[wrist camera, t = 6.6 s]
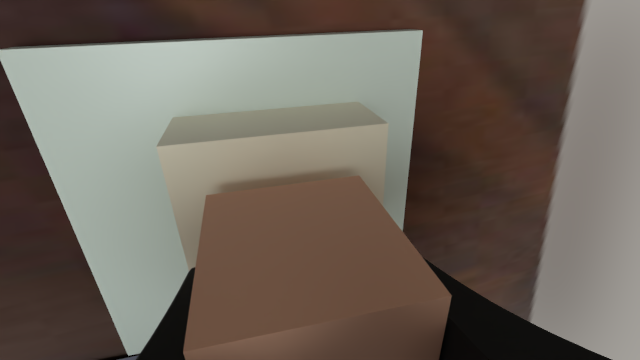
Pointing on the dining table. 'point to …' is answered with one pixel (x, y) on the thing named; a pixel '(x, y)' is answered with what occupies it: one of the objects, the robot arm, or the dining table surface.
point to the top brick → (311, 279)
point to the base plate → (132, 118)
